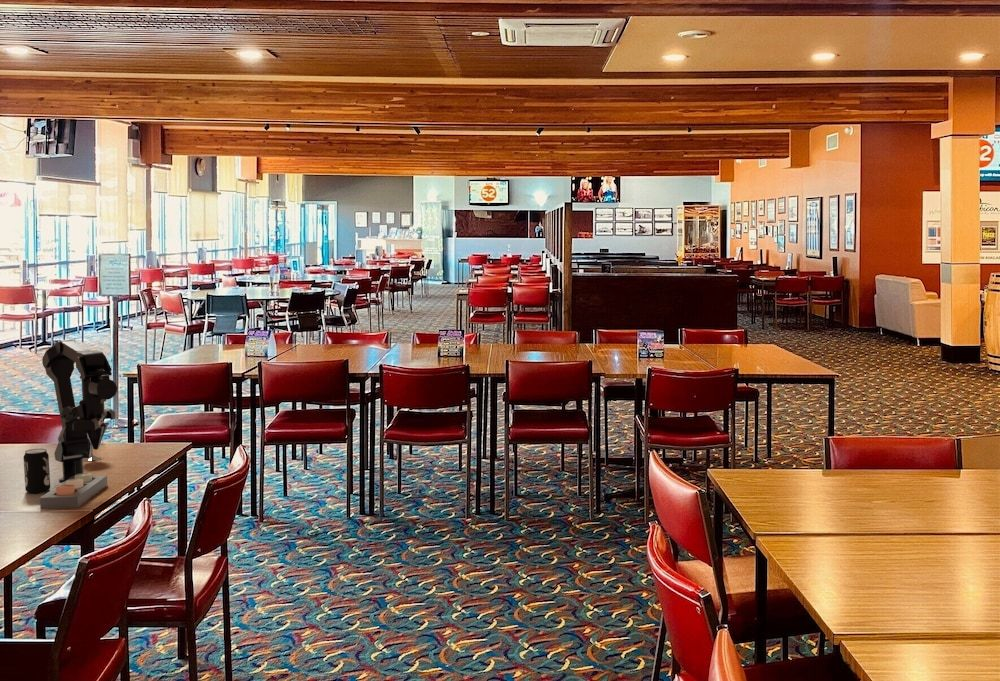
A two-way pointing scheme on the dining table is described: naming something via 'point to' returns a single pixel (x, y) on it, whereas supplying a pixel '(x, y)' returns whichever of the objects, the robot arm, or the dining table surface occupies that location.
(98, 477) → the egg tray
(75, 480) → the beige domed piece
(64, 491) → the orange rounded dome
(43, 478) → the beverage can
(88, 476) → the pale green egg
